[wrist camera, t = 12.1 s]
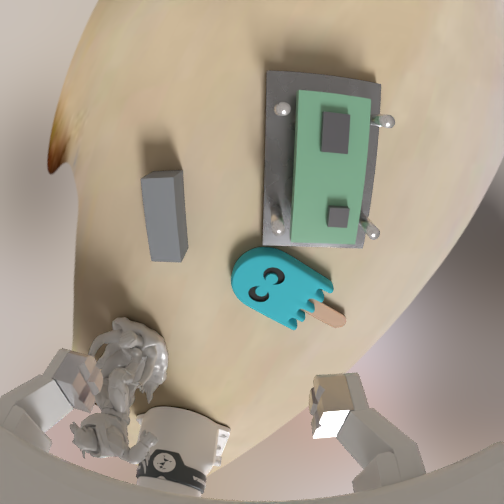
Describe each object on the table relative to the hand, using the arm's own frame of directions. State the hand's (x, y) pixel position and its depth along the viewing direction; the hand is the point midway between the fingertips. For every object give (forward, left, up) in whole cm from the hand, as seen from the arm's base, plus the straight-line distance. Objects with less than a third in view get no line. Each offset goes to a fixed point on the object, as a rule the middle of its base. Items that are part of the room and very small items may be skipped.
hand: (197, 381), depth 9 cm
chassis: (+4, -7, -20) cm, 21 cm away
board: (+4, -7, -17) cm, 19 cm away
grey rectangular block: (-1, +7, -20) cm, 21 cm away
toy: (-10, -6, -20) cm, 23 cm away
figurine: (-22, +16, -20) cm, 33 cm away
